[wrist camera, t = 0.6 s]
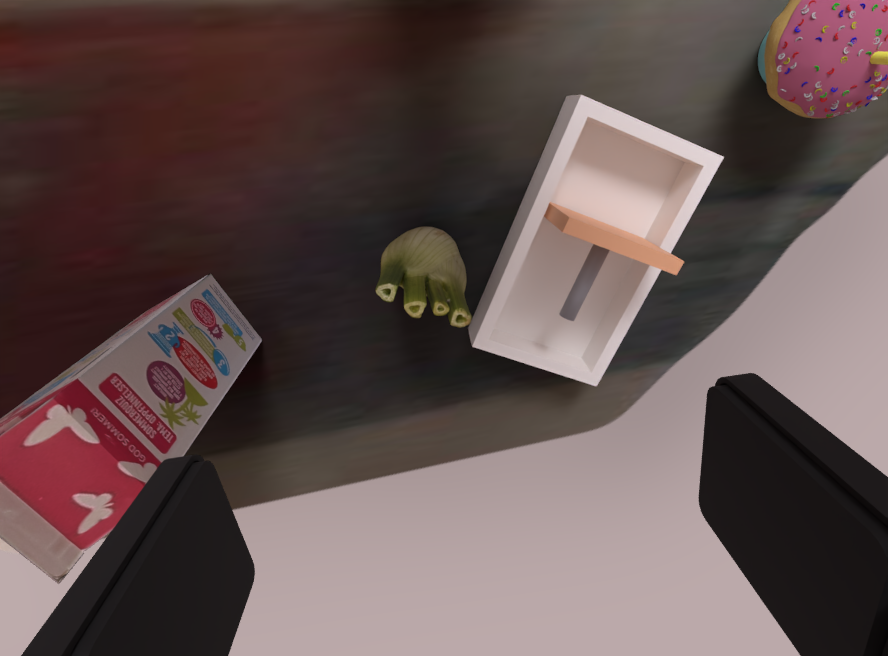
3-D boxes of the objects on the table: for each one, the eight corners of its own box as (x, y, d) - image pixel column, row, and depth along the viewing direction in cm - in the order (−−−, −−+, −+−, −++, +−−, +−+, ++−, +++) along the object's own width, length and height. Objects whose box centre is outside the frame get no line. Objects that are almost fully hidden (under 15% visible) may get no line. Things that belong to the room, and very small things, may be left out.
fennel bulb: (378, 245, 39) (362, 298, 28) (424, 203, 38) (427, 241, 27) (427, 297, 41) (431, 366, 30) (473, 258, 40) (495, 314, 29)
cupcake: (868, 62, 36) (1069, 41, 25) (759, 144, 38) (901, 158, 27) (821, -53, 33) (1025, -135, 22) (706, 42, 35) (840, 10, 24)
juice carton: (198, 375, 43) (4, 610, 23) (144, 312, 40) (-128, 513, 20) (262, 340, 42) (118, 553, 22) (210, 273, 39) (-7, 444, 19)
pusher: (544, 199, 37) (569, 217, 31) (642, 237, 39) (684, 261, 33) (507, 284, 40) (523, 315, 34) (600, 317, 41) (632, 352, 35)
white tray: (566, 96, 36) (581, 94, 32) (698, 153, 38) (723, 157, 34) (467, 328, 42) (472, 346, 39) (583, 366, 44) (596, 386, 41)
